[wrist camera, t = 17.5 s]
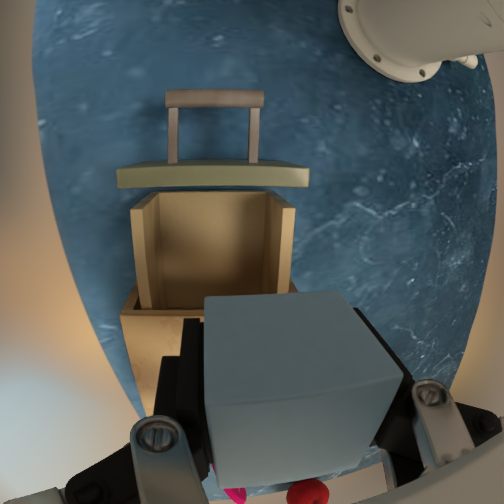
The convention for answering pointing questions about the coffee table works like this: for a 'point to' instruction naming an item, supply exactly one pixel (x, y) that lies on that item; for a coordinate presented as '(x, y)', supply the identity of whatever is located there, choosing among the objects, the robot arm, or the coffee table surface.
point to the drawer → (211, 216)
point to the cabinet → (154, 341)
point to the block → (291, 386)
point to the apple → (308, 492)
